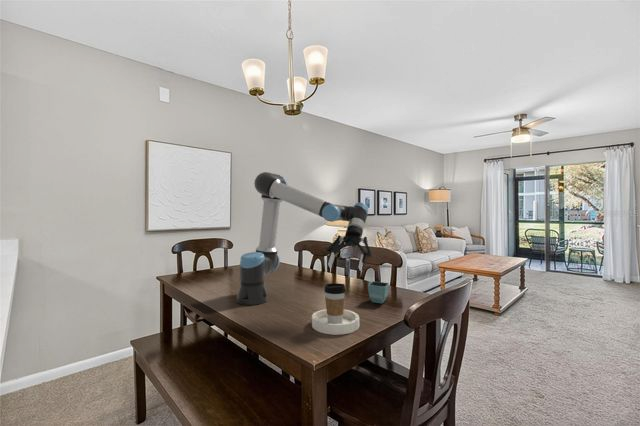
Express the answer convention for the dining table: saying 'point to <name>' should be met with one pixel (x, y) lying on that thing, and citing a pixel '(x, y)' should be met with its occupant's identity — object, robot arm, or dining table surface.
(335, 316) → the coffee cup
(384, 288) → the flower pot
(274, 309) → the dining table surface
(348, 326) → the serving bowl
